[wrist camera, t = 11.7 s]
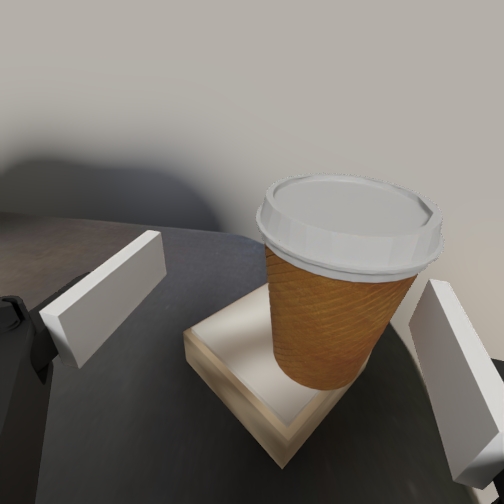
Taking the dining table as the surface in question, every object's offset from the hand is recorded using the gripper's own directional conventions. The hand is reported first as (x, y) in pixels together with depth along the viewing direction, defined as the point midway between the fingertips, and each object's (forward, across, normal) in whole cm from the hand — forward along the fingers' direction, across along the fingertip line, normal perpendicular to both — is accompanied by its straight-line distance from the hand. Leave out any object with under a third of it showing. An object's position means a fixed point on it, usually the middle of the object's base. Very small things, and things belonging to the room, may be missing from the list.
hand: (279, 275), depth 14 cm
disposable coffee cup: (+4, +3, -9) cm, 10 cm away
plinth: (+5, 0, -13) cm, 14 cm away
